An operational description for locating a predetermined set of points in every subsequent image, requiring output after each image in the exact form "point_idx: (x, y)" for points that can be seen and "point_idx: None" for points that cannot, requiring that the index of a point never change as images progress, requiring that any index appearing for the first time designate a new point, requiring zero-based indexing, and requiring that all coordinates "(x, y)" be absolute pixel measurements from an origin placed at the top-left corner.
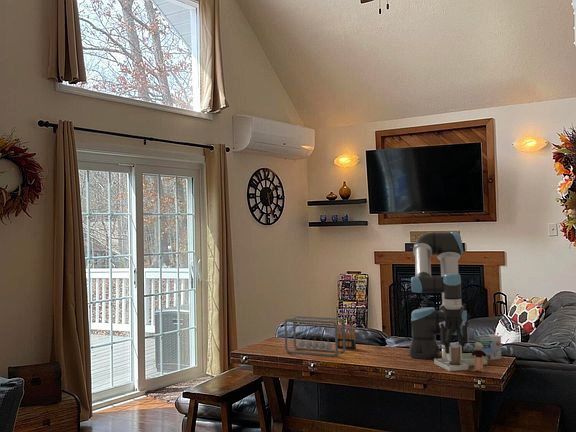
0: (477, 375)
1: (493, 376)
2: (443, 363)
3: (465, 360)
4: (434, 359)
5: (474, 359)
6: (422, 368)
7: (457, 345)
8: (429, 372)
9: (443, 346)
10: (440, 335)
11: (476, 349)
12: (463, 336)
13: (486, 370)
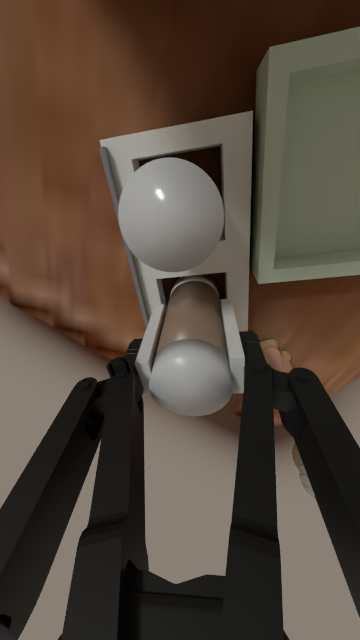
0: (231, 398)
1: (274, 415)
2: (137, 288)
3: (274, 280)
4: (101, 147)
5: (340, 274)
6: (39, 264)
7: (203, 409)
8: (72, 334)
9: (133, 250)
10: (33, 455)
11: (293, 446)
12: (307, 445)
13: (308, 352)
